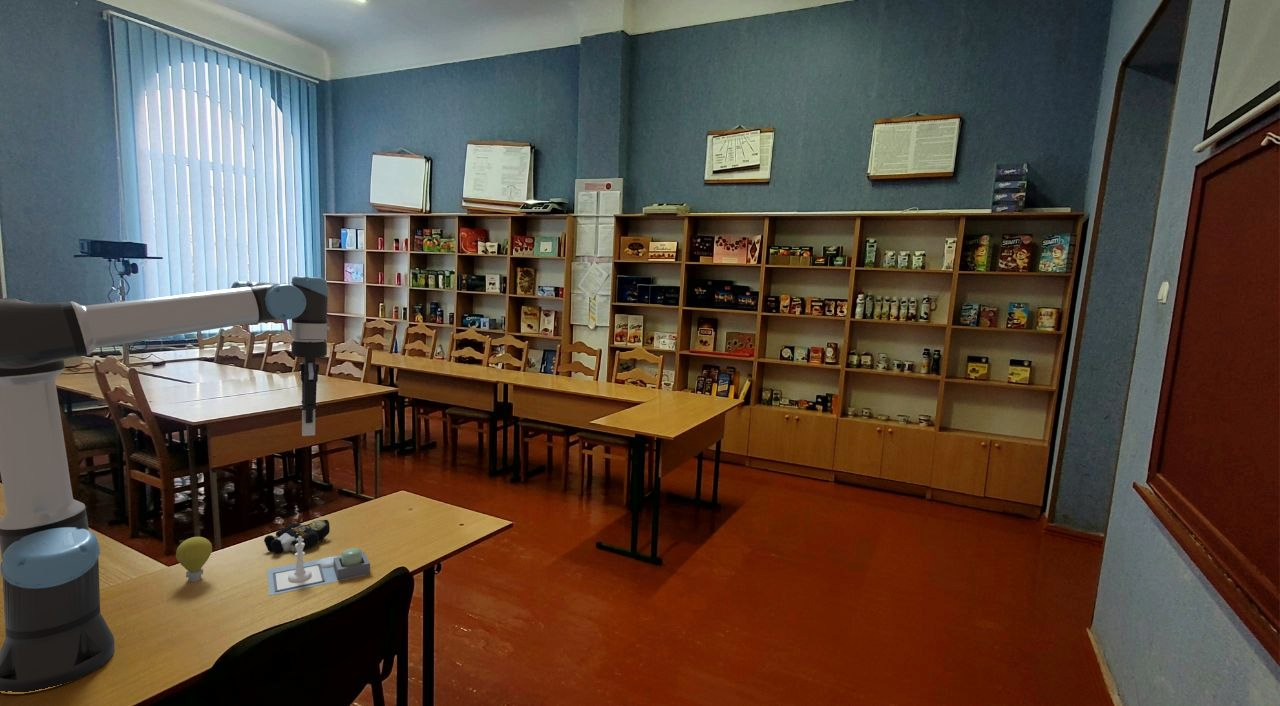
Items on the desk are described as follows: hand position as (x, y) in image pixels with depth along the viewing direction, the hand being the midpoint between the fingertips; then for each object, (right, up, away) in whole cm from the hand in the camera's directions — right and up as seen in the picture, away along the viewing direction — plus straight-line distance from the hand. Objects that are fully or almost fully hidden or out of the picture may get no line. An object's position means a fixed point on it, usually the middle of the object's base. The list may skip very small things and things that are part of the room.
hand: (308, 434), depth 140 cm
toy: (-9, -32, +12) cm, 35 cm away
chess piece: (+2, -33, -6) cm, 34 cm away
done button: (+12, -33, -2) cm, 35 cm away
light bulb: (-22, -33, -8) cm, 40 cm away
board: (+4, -34, -3) cm, 34 cm away
